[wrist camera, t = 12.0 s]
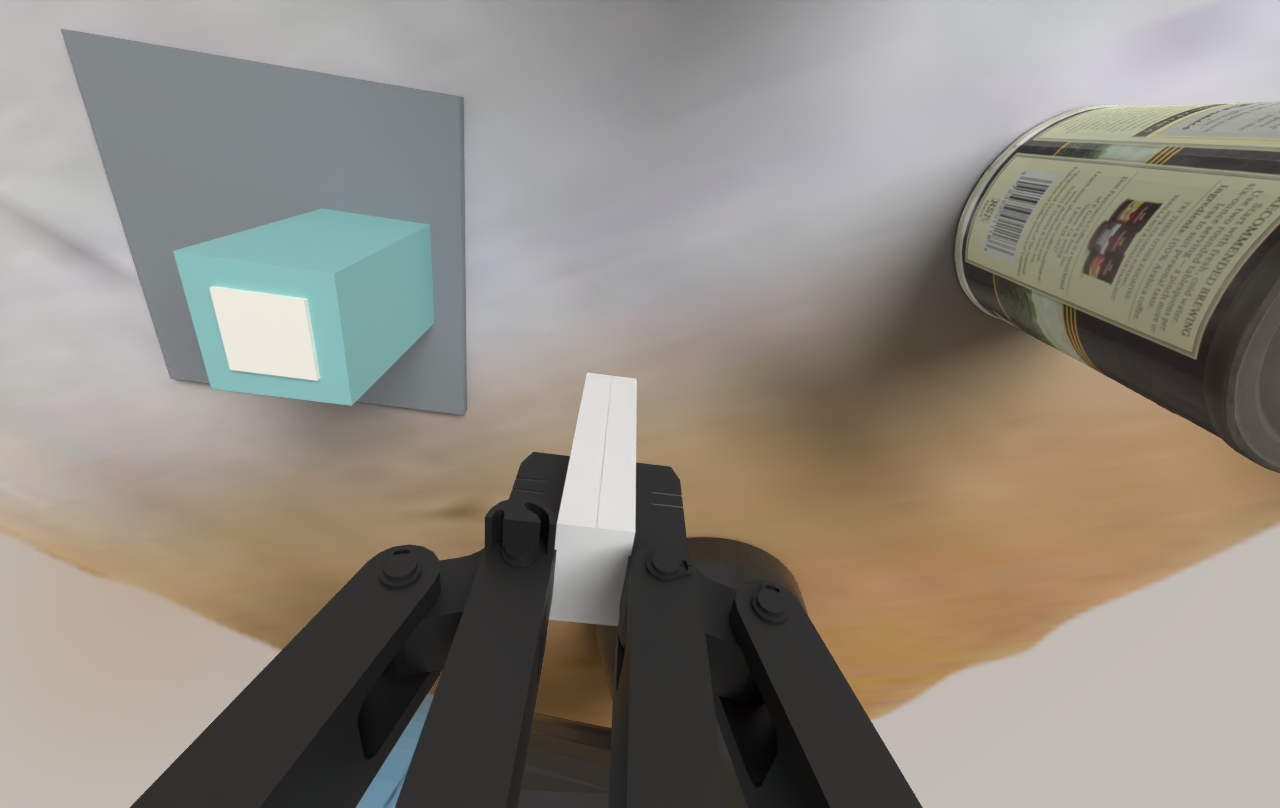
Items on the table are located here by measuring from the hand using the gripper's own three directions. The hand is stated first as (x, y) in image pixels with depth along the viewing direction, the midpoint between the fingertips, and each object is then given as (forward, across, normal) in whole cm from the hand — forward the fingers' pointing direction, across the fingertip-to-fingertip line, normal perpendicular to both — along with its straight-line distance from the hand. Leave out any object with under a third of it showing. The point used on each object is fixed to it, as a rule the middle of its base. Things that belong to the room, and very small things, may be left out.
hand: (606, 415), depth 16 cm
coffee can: (+13, -21, -7) cm, 26 cm away
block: (+12, +12, 0) cm, 17 cm away
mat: (+13, +16, 0) cm, 20 cm away
